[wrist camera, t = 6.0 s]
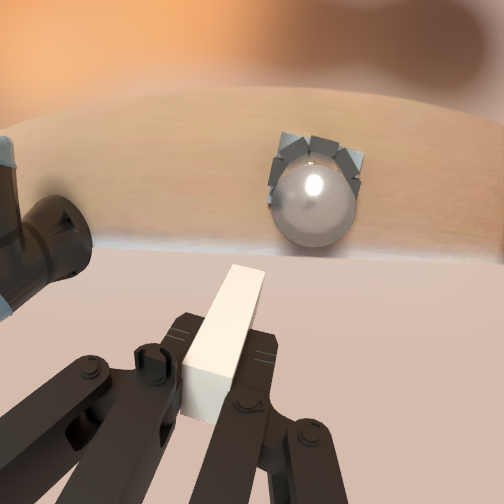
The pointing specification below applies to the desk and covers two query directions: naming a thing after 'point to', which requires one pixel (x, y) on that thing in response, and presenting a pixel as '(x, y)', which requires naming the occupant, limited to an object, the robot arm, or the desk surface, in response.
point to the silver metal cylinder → (313, 201)
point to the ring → (319, 147)
